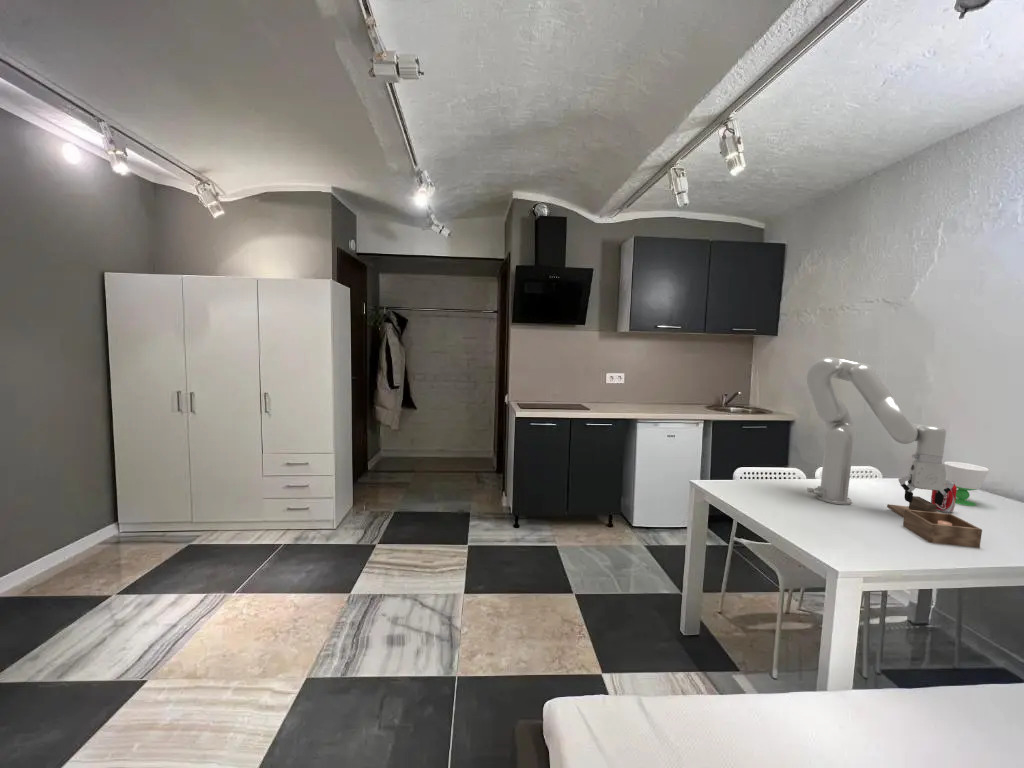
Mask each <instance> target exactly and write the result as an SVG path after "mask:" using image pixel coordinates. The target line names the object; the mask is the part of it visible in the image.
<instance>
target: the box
mask: <svg viewBox="0 0 1024 768" xmlns="http://www.w3.org/2000/svg"><path fill="white" fill-rule="evenodd" d="M937 512H938V511H937ZM937 512H927V511H916V510H906V509H905V513H904V517H903V521H902V522H903V523H902V526H903V527H904V528H906V529H908V531H910V532H912V533H913V534H915V535H917V536H918V537H920V538H922V539H923V540H925V541H926V542H928V543H933V544H940V545H951V546H959V547H960V546H961V547H969V548H978V549H979V548H981V542H982V541H981V540H982V534H983V529H982V528H980V527H977V526H976V525H974V524H973V523H970V522H968V521H966V520H964V519H961V518H960V517H958V516H956V515H955V514H953V513H945V512H939V513H937ZM938 520H942V521H947V522H950V523H952V526H951V525H941V524H938Z"/></svg>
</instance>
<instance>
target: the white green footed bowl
mask: <svg viewBox="0 0 1024 768" xmlns="http://www.w3.org/2000/svg"><path fill="white" fill-rule="evenodd" d="M943 464H945V469H946V480H948V481H952V482H955V485H956V487H957V492H956V500H955V505H956V504H957V505H961V506H967V507H969V506H970V507H974V506H976V505H977V504H976V503H975V502H973V501H971V500H968V499H969V498H970V496H971V495H970V494H971V493H970V492H969V491H971V492H972V491H977V490H979V489H980V488H981V487H982V486H983V485H984V482H985V479H986V477H987V475H988V472H989V471H990V470H989V468H987V467H984V466H982V465H977V464H972V463H967V462H959V461H945V462H943Z"/></svg>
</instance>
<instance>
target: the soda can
mask: <svg viewBox="0 0 1024 768" xmlns="http://www.w3.org/2000/svg"><path fill="white" fill-rule="evenodd" d="M947 481H948V480H947ZM949 482H951V483H953V484H954V486H953V487H952V488H951V489H950V491H949V492H948V493H946V495H944V499H943V503H942V506H941V505H938V504H936V503H934V501H935V493H937V491H936V490H931V497H930V502H931V503H933V504H935V505H937V507H936V511H937V512H939V513H947V514H951V513H952V512H953V513H954V509H955V505H956V503H955V500H956V498H957V497H956V492H957V490H958V489H957V487H956V485H955V482H952V481H949ZM945 487H946V486H945Z"/></svg>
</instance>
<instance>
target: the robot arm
mask: <svg viewBox="0 0 1024 768" xmlns="http://www.w3.org/2000/svg"><path fill="white" fill-rule="evenodd" d="M832 378H834V379H838V380H842V381H846V382H851V383H852V385H853V386H854V387H855V388H856V390H857V392H859V394H860V395H861V396H862V398H863V400H864V401H865V402H866V403H867V405H868V406H869V407H870V409H871V411H872V412H873V414H874V415H875V416H876V417H877V418H876V419H878V420H879V422H880V424H881V426H883V428H884V429H885V430H886V431H887V433H888V434H889V435H890V437H891V438H892V439H893V440H894V441H895V442H896V443H898V444H902V445H908V444H912V443H914V442H916V443H917V444H916V450H915V454H913V453H912V455H911V458H913V460H912V462H911V465H910V468H909V472H908V475H906V476H902V477H899V478H898V483H899V485H900V487H902V489H903V490H904V500H905V502H907V503H912V499H913V496H914V492H913V491H914V490H916V489H919V490H929V491H930V490H931V491H932V490H936V491H937V493H935V501H934V503H936V504H938V505H941V506H942V503H943V499H944V495H946V493H948V492H949V491H950V489H951V488H952V487H953V486H954V484H953V483H951V482H949V481H947V480H946V469H945V464H944V462H943V460H944V452H945V451H944V450H945V445H946V438H947V437H946V435H947V430H946V428H944V427H942V426H939V425H938V426H937V425H932V424H924V425H923V424H918V423H915V422H910V421H909V419H907V417H906V416H905V414H904V413H903V411H902V410H901V409H900V407H899V406H898V405H899V404H898V403H897V401H896V398H895V396H894V395H893V393H892V392H891V390H890V389H889V388H888V387H887V386H886V384H885V383H884V382H883V381H882V379H881V378H880V377H879V375H878V374H877V370H876V369H875V368H874V366H872V365H871V364H867V363H862V362H857V361H852V360H847V359H842V358H838V357H831V356H829V357H824V358H820V359H818V360H817V361H815V362H814V363H813V364H812V365H811V367H810V368H809V370H808V372H807V376H806V385H807V388H808V390H809V393H810V395H811V396H810V397H811V399H812V401H813V405H814V407H815V411H816V414H817V416H818V418H820V420H821V421H823V422H824V423H825V426H826V428H827V431H826V433H825V435H824V440H823V443H824V444H823V445H824V447H823V449H824V450H823V460H822V471H821V480H820V485H817V487H815V488H814V487H813V488H812V487H807V489H806V491H807V493H812V494H813V495H814V496H815V497H816V499H818V500H819V501H822V502H825V503H829V504H835V505H841V506H842V505H843V506H844V505H845V506H846V505H847V506H848V505H851V504H852V503H853V501H852V499H851V498H850V497H849V490H850V489H849V487H850V481H851V480H850V476H851V472H852V471H851V469H852V458H853V446H854V442H855V440H856V439H857V434H858V433H857V431H856V428H855V425H854V421H853V420H852V417H851V415H850V413H849V411H848V408H847V406H846V404H844V402H843V401H842V400H840V399H839V398H838V396H837V394H836V391H835V388H834V386H833V384H832ZM906 482H907V484H906ZM945 486H946V487H945Z"/></svg>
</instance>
